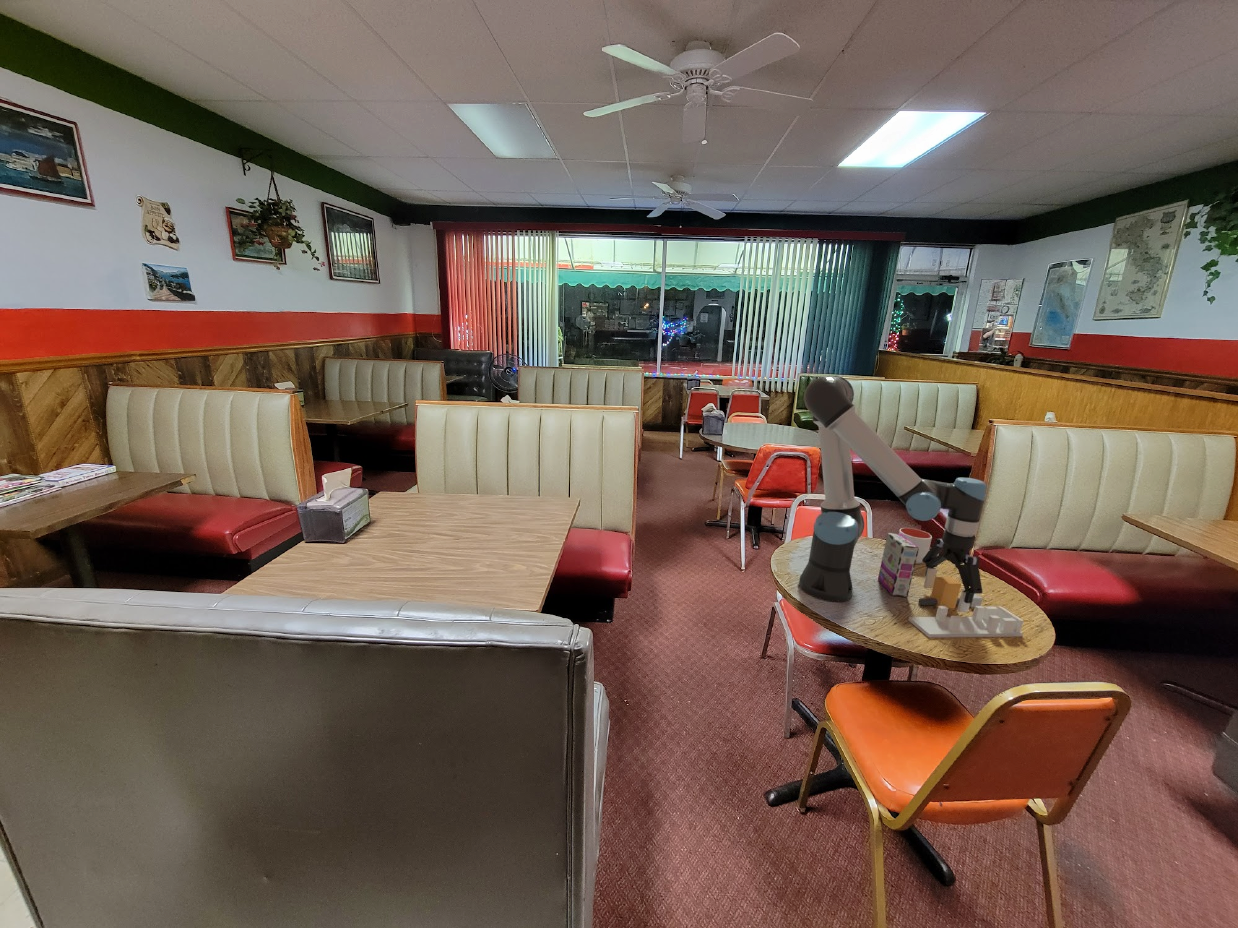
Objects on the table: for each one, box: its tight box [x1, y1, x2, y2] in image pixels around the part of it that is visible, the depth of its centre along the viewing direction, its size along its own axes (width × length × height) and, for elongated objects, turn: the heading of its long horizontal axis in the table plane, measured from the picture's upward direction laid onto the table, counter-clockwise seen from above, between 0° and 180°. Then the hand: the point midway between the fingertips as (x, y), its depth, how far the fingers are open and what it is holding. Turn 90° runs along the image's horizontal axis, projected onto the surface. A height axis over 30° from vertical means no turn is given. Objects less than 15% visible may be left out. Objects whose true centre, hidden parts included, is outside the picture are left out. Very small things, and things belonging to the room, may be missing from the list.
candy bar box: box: [877, 532, 919, 598], centre depth 151 cm, size 11×5×16 cm, turn 174°
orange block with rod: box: [918, 576, 984, 609], centre depth 144 cm, size 18×4×8 cm, turn 95°
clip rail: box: [908, 605, 1024, 639], centre depth 132 cm, size 27×8×5 cm, turn 95°
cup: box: [898, 527, 933, 565], centre depth 175 cm, size 10×10×10 cm
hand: (944, 599), depth 144 cm, fingers open, 13 cm apart
